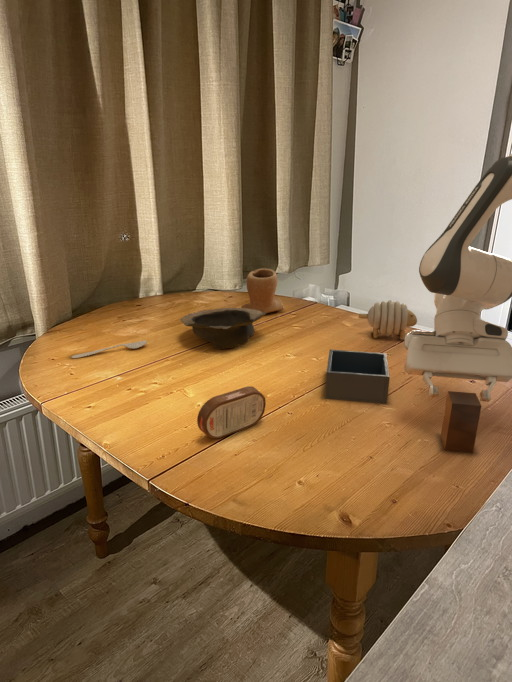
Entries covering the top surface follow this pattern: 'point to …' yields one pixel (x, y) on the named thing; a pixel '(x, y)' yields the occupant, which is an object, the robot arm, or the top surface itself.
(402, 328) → the toy sheep
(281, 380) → the top surface
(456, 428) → the block
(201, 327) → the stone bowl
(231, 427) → the tin
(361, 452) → the top surface
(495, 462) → the top surface
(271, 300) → the terracotta vase
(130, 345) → the spoon
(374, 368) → the gray open box
